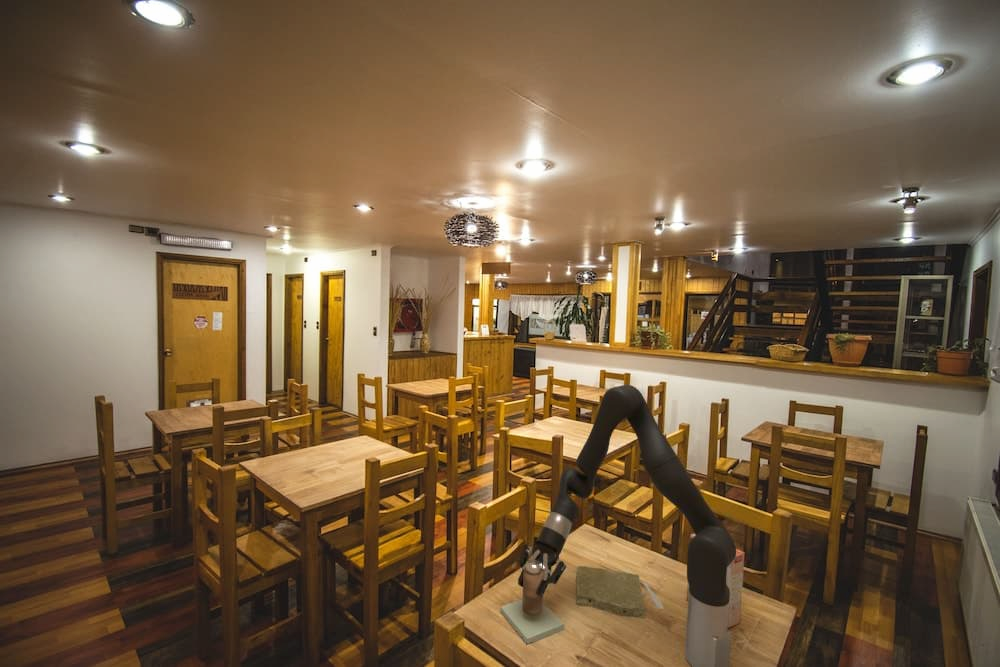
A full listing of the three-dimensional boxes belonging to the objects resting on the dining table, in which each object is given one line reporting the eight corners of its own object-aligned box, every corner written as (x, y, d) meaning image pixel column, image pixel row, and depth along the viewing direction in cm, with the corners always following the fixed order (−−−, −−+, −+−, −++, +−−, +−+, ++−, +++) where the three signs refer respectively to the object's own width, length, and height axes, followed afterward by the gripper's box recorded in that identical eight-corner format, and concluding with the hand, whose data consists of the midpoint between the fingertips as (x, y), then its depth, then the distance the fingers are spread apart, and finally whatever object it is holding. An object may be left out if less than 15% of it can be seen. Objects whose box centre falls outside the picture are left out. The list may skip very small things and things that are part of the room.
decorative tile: (576, 573, 149) (577, 562, 149) (639, 582, 145) (639, 572, 145) (574, 609, 131) (574, 597, 131) (645, 621, 127) (646, 609, 127)
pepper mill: (546, 611, 124) (548, 566, 123) (529, 618, 121) (531, 571, 120) (534, 599, 129) (536, 556, 128) (518, 605, 126) (519, 561, 125)
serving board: (563, 629, 122) (564, 624, 122) (527, 644, 116) (527, 639, 116) (534, 599, 134) (535, 594, 134) (500, 611, 128) (500, 606, 128)
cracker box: (741, 623, 127) (746, 552, 126) (727, 629, 124) (732, 557, 123) (699, 594, 139) (703, 529, 138) (685, 599, 136) (689, 533, 135)
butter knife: (655, 608, 131) (665, 608, 132) (623, 558, 158) (632, 558, 158) (655, 610, 131) (665, 610, 132) (623, 560, 158) (632, 559, 159)
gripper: (530, 518, 134) (503, 574, 125) (571, 535, 125) (545, 597, 116) (539, 529, 138) (514, 584, 130) (580, 546, 129) (556, 607, 121)
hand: (529, 590), depth 123 cm, fingers closed on pepper mill, 5 cm apart
